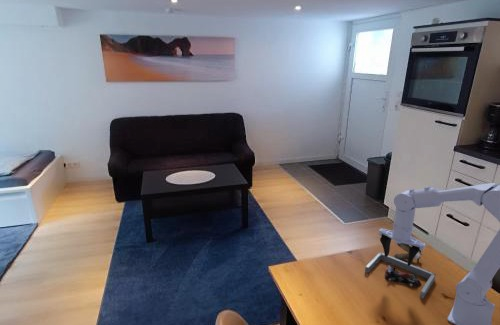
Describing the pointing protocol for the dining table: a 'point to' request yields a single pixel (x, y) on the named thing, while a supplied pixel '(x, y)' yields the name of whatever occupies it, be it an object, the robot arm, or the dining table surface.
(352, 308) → the dining table surface
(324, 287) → the dining table surface
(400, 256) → the eagle figurine
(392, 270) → the toy car
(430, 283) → the garage bay
